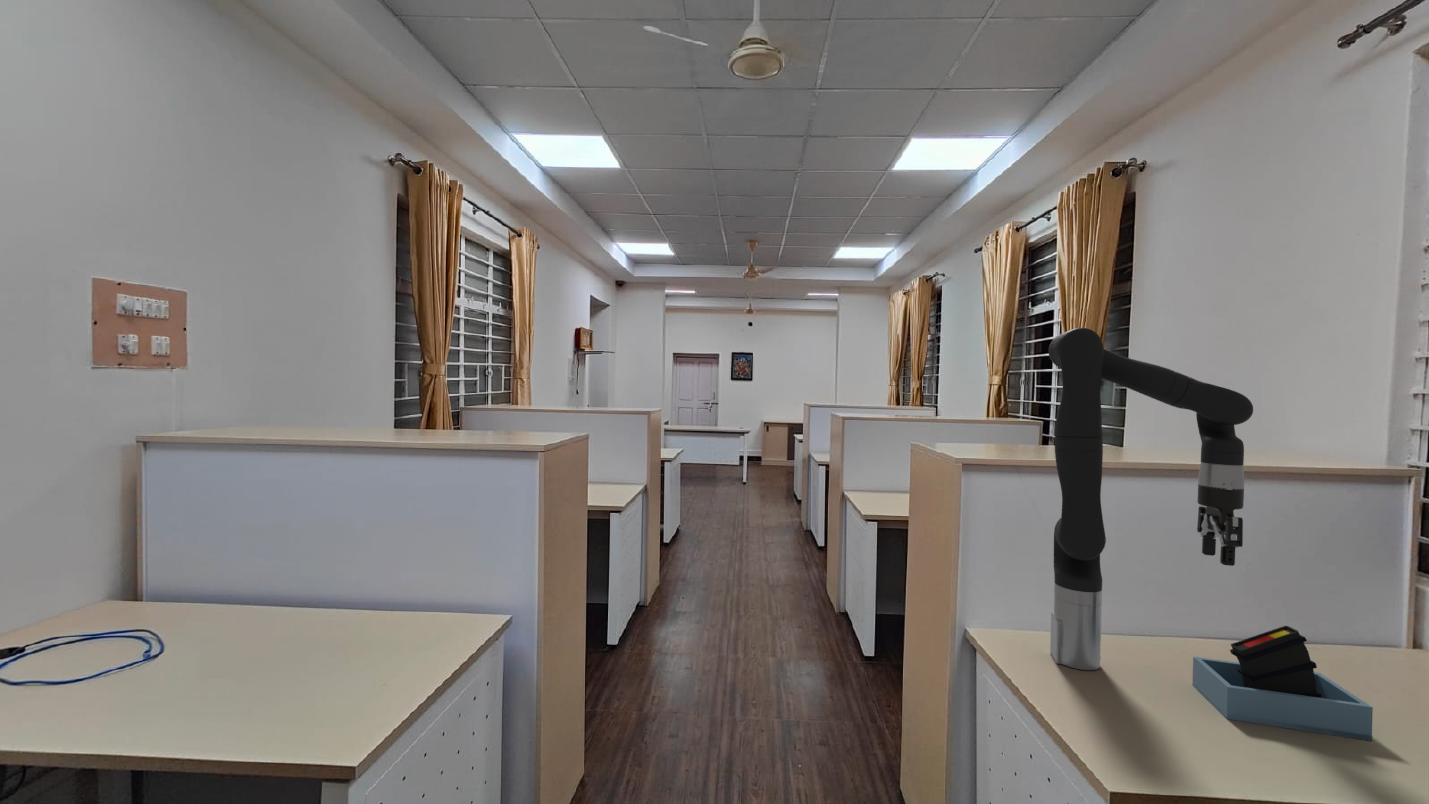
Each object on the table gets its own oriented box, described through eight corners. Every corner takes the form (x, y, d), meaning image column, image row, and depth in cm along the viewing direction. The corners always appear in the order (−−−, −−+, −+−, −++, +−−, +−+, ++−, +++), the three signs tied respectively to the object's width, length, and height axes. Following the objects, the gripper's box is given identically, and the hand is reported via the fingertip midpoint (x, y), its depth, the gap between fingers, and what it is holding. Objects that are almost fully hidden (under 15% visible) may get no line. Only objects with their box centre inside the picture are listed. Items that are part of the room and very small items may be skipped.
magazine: (1339, 706, 111) (1302, 631, 112) (1266, 729, 113) (1230, 655, 114) (1322, 696, 115) (1286, 624, 116) (1252, 718, 117) (1217, 647, 118)
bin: (1226, 718, 111) (1227, 687, 111) (1192, 685, 124) (1193, 656, 124) (1371, 741, 104) (1372, 707, 104) (1319, 703, 118) (1319, 673, 118)
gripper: (1185, 479, 135) (1182, 550, 136) (1215, 487, 122) (1211, 566, 122) (1225, 482, 133) (1223, 554, 133) (1260, 490, 120) (1257, 571, 120)
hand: (1217, 559), depth 128 cm, fingers open, 8 cm apart
